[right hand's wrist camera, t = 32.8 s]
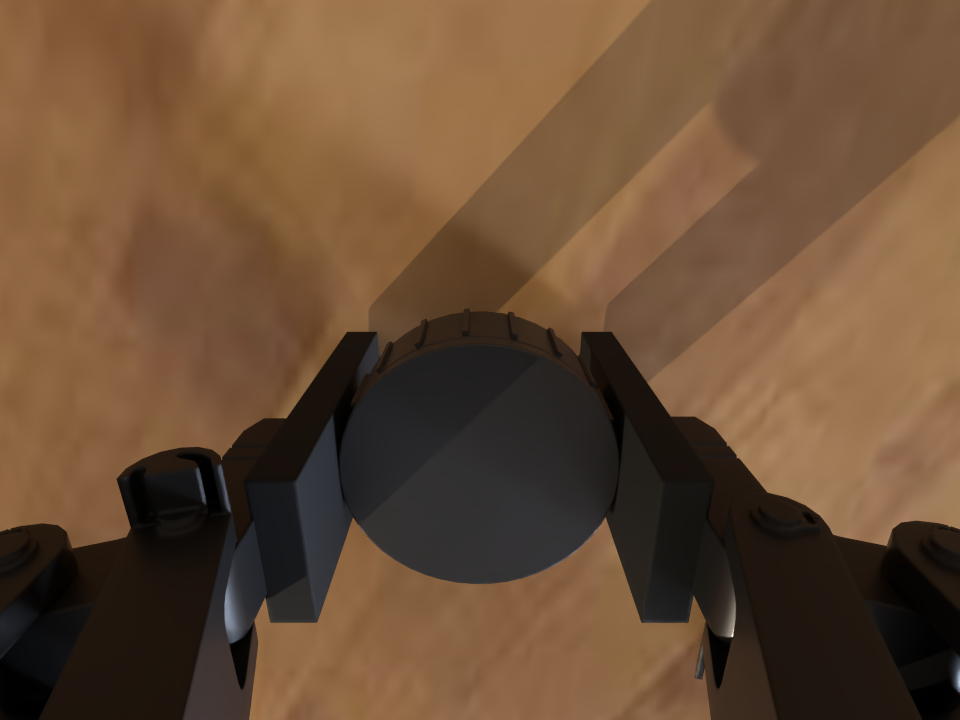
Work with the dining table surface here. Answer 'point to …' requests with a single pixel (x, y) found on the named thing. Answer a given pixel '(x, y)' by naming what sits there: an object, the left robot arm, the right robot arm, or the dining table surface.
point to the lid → (479, 450)
